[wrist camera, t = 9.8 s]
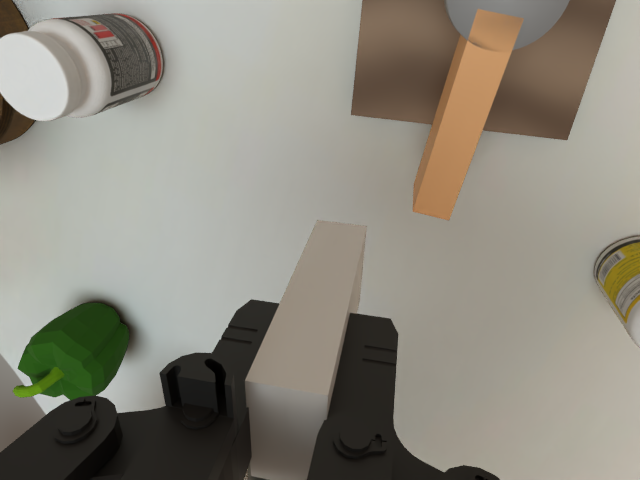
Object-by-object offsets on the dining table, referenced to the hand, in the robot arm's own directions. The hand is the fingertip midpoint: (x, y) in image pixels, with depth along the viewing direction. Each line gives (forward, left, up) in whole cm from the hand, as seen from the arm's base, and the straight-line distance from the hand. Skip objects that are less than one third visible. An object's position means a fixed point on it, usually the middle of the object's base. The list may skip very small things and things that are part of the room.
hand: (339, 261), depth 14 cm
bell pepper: (-25, +26, -21) cm, 42 cm away
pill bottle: (+2, +19, -21) cm, 28 cm away
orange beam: (+4, -4, -15) cm, 16 cm away
